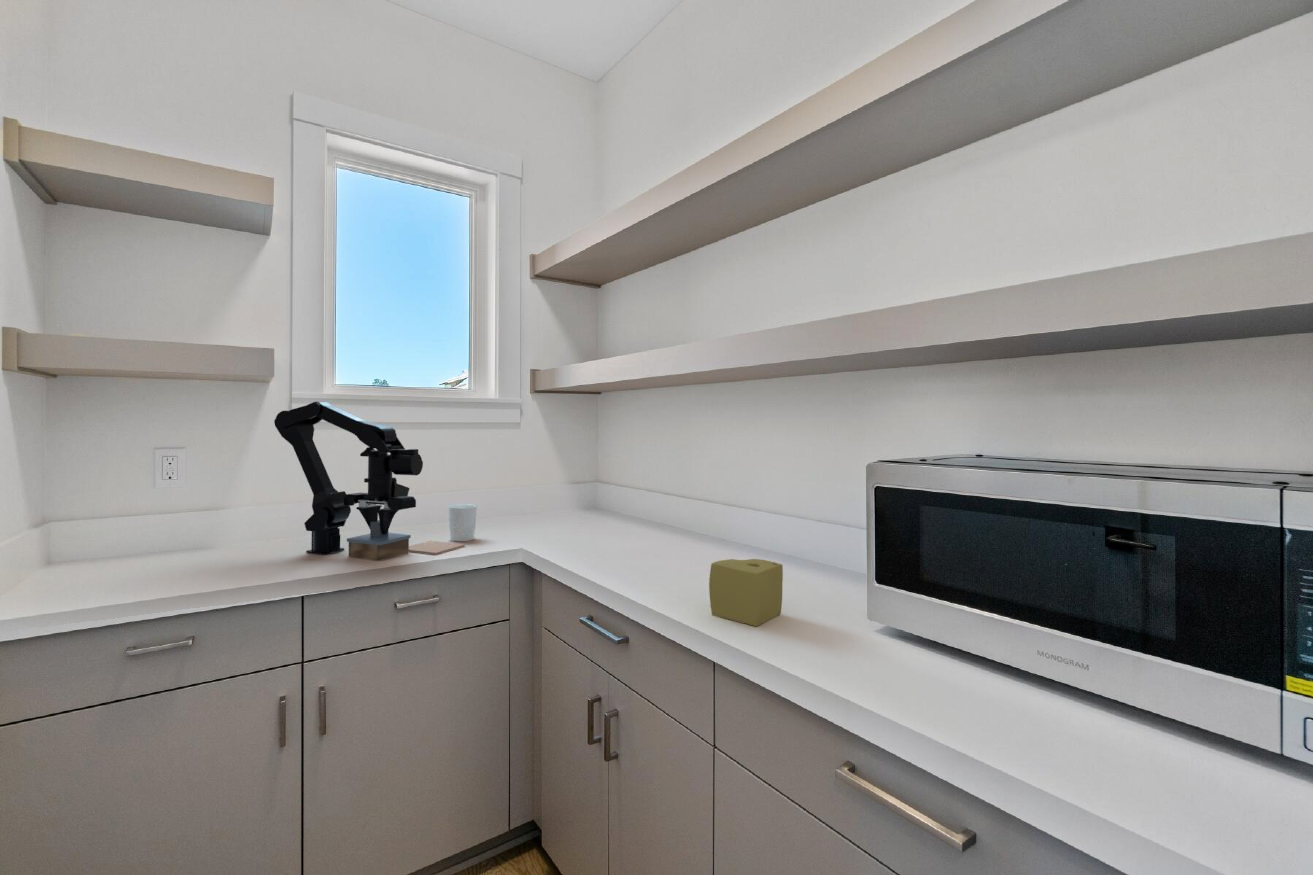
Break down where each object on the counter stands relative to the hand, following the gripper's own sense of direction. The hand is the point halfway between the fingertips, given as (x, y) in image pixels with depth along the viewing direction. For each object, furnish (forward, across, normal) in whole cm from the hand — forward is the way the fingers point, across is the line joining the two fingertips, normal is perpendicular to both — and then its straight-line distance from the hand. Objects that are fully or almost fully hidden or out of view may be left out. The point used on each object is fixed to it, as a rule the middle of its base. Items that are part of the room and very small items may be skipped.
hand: (379, 533), depth 152 cm
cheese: (+6, -98, +10) cm, 99 cm away
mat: (+6, -7, -12) cm, 15 cm away
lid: (+2, 0, 0) cm, 2 cm away
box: (+6, 0, 0) cm, 6 cm away
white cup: (+6, -6, -26) cm, 27 cm away
